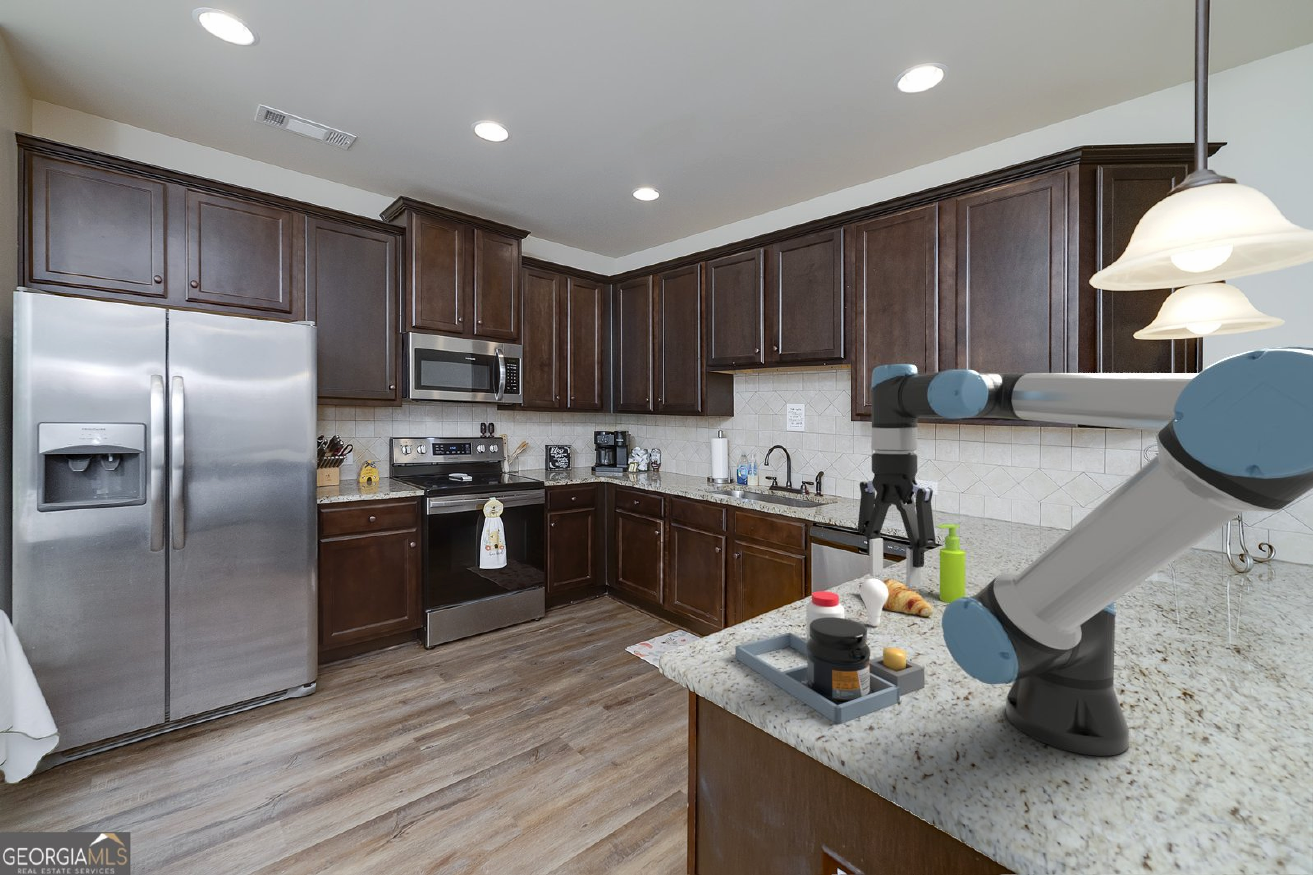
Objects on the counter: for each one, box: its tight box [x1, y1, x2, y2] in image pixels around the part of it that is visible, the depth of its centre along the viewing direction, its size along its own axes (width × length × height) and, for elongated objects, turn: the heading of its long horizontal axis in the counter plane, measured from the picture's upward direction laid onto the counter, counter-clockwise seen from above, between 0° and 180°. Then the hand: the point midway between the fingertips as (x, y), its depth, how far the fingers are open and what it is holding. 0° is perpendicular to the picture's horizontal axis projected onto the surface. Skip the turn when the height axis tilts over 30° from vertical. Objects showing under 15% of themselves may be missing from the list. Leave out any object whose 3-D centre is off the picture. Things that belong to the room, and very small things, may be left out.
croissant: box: [858, 578, 934, 617], centre depth 139 cm, size 21×10×8 cm, turn 31°
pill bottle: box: [805, 590, 846, 641], centre depth 115 cm, size 8×8×11 cm
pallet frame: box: [734, 632, 901, 725], centre depth 101 cm, size 27×14×2 cm, turn 27°
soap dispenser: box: [935, 523, 966, 604], centre depth 143 cm, size 6×7×20 cm
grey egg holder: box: [870, 655, 925, 697], centre depth 98 cm, size 7×7×4 cm
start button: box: [882, 646, 907, 672], centre depth 98 cm, size 4×4×3 cm
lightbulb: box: [859, 578, 888, 627], centre depth 126 cm, size 6×6×11 cm
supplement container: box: [806, 617, 871, 705], centre depth 95 cm, size 10×10×12 cm
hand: (894, 578), depth 98 cm, fingers open, 7 cm apart
